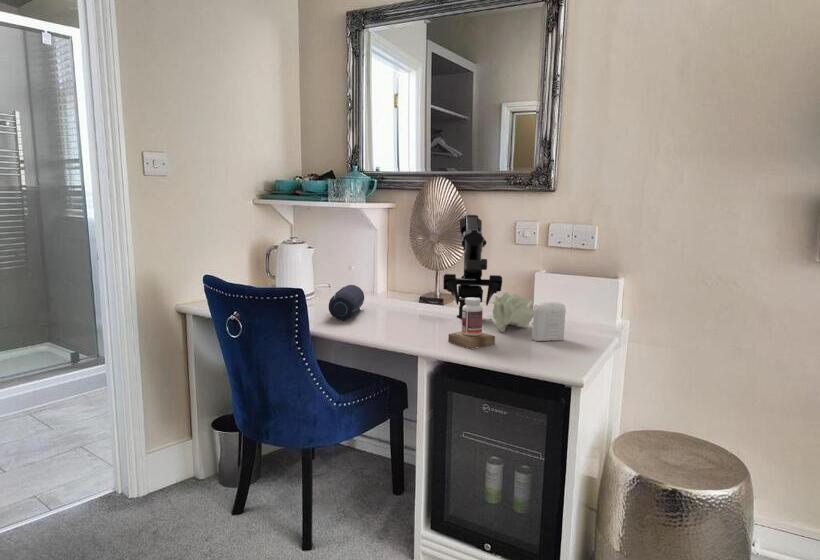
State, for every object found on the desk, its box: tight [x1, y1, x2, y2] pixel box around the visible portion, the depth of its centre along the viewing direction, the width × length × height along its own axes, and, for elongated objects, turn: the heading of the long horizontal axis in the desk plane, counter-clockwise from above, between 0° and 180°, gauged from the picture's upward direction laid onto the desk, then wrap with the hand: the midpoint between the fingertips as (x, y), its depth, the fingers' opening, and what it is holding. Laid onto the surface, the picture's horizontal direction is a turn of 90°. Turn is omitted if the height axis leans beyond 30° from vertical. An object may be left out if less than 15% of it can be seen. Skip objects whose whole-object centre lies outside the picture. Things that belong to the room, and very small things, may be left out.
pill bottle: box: [461, 297, 484, 336], centre depth 172 cm, size 6×6×11 cm
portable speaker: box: [328, 284, 365, 321], centre depth 208 cm, size 25×10×10 cm, turn 175°
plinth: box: [447, 330, 496, 349], centre depth 173 cm, size 10×10×3 cm
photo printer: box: [531, 300, 566, 342], centre depth 178 cm, size 10×4×12 cm, turn 103°
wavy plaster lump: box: [491, 291, 534, 333], centre depth 192 cm, size 18×13×16 cm
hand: (472, 304), depth 177 cm, fingers open, 9 cm apart
